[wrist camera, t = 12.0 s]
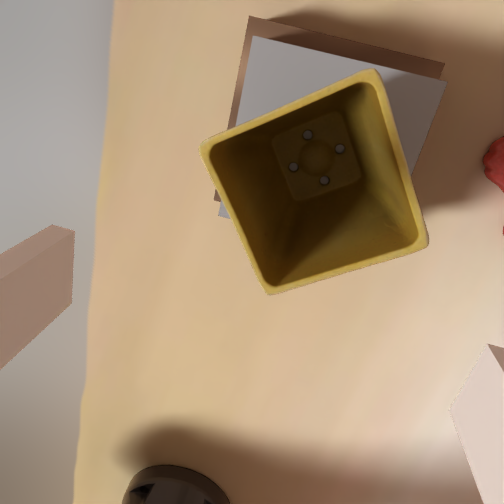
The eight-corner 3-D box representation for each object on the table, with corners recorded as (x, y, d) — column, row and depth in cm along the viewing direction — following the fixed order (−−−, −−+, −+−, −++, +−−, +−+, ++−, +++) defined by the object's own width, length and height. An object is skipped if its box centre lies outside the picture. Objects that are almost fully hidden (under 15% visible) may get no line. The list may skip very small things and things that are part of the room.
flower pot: (402, 196, 28) (433, 249, 20) (281, 237, 31) (265, 299, 23) (362, 63, 25) (378, 63, 17) (232, 121, 28) (193, 144, 20)
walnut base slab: (369, 222, 39) (375, 243, 35) (226, 184, 40) (213, 200, 36) (428, 63, 33) (444, 63, 29) (259, 22, 34) (249, 15, 30)
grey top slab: (372, 232, 35) (379, 257, 30) (231, 196, 35) (218, 215, 31) (429, 79, 29) (447, 81, 25) (263, 39, 30) (252, 35, 26)
